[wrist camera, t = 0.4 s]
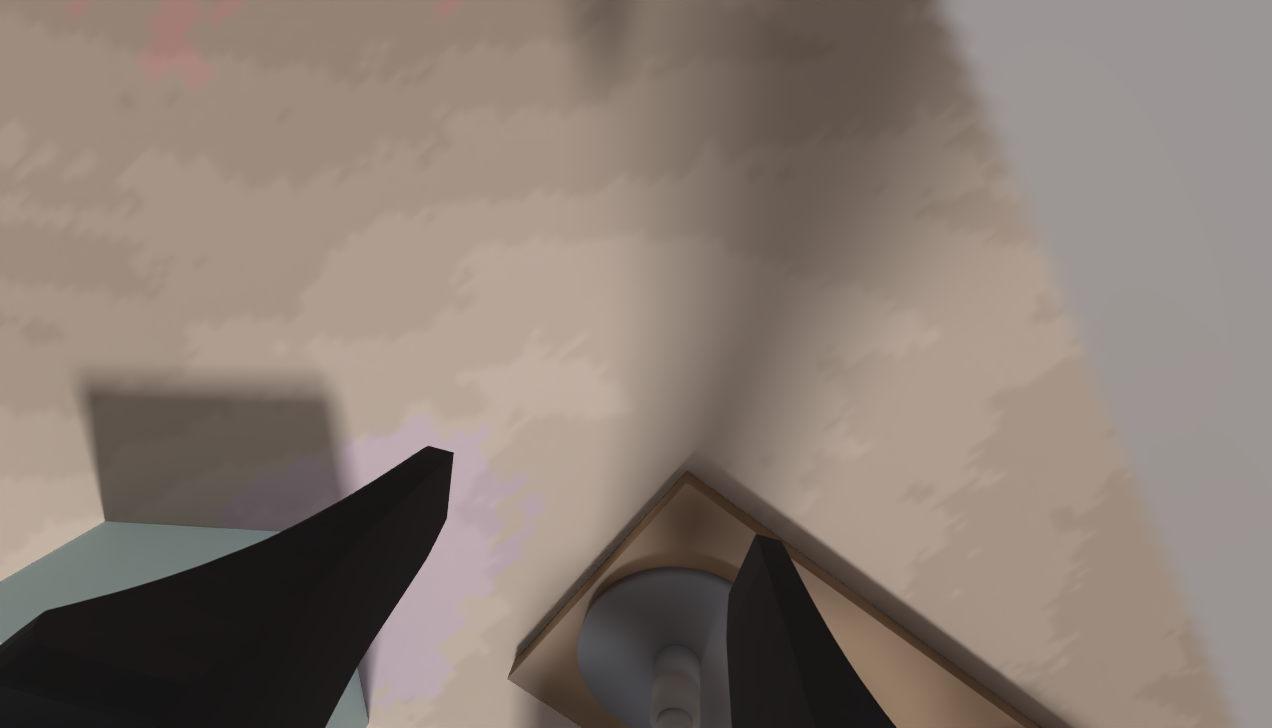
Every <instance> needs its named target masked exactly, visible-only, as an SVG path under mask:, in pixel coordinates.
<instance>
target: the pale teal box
mask: <svg viewBox="0 0 1272 728" xmlns="http://www.w3.org/2000/svg"><path fill="white" fill-rule="evenodd" d="M278 533H280V532H279V531H262V530H245V529H228V528H211V527H194V526H177V525H160V524H143V523H125V522H108V521H105V522H103V523H101V524H100V525H98V526H96V527H94V528H93V529H91V530H89V531H87V532H86V533H84V534H82V535H80V536H79V537H77V538H75V539H74V540H72V541H70V542H68V543H67V544H65V545H63V546H61V547H60V548H58V549H56V550H54V551H53V552H51V553H49V554H48V555H46V556H44V557H42V558H41V559H39V560H37V561H35V562H34V563H32V564H30V565H28V566H27V567H25V568H23V569H22V570H20V571H18V572H16V573H15V574H13V575H11V576H9V577H8V578H6V579H4V580H2V581H1V582H0V645H1V644H2V643H3V642H5V641H6V640H7V639H8V638H10V637H11V636H12V635H13V634H15V633H16V632H17V631H18V630H20V629H21V628H22V627H24V626H25V625H26V624H28V623H29V622H30V621H32V620H33V619H34V618H36V617H37V616H39V615H40V614H41V613H43V612H44V611H45V610H49V609H53V608H57V607H62V606H65V605H69V604H73V603H77V602H81V601H84V600H88V599H92V598H96V597H99V596H103V595H107V594H111V593H115V592H118V591H122V590H125V589H129V588H132V587H135V586H139V585H142V584H145V583H148V582H152V581H155V580H158V579H161V578H164V577H167V576H171V575H173V574H176V573H179V572H182V571H185V570H188V569H191V568H194V567H197V566H200V565H202V564H205V563H208V562H210V561H213V560H215V559H218V558H220V557H223V556H225V555H228V554H230V553H233V552H236V551H238V550H241V549H243V548H246V547H248V546H251V545H253V544H256V543H258V542H260V541H263V540H265V539H267V538H269V537H271V536H273V535H276V534H278ZM368 723H369V722H368V717H367V712H366V707H365V702H364V697H363V692H362V687H361V683H360V678H359V673H358V668H356V670H355V672H354V674H353V676H352V678H351V680H350V681H349V683H348V685H347V687H346V689H345V691H344V693H343V695H342V696H341V698H340V700H339V702H338V704H337V706H336V708H335V710H334V712H333V714H332V716H331V717H330V719H329V721H328V723H327V725H326V727H325V728H366V727H367V725H368Z"/></svg>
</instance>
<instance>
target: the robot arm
mask: <svg viewBox="0 0 1272 728" xmlns="http://www.w3.org/2000/svg"><path fill="white" fill-rule="evenodd" d="M453 454H454V453H453V452H449V451H446V450H442V449H438V448H434V447H431V446H427V447H425V448H423V449H422V450H420V451H419V452H417V453H416V454H414V455H412V456H411V457H409V458H408V459H406V460H405V461H403V462H402V463H400V464H399V465H397V466H396V467H394V468H393V469H391V470H390V471H388V472H387V473H385V474H383V475H382V476H380V477H379V478H377V479H376V480H374V481H372V482H371V483H369V484H367V485H366V486H364V487H363V488H361V489H359V490H358V491H356V492H354V493H353V494H351V495H349V496H348V497H346V498H344V499H343V500H341V501H339V502H337V503H335V504H334V505H332V506H330V507H328V508H326V509H325V510H323V511H321V512H319V513H317V514H315V515H314V516H312V517H310V518H308V519H306V520H304V521H302V522H300V523H298V524H296V525H294V526H292V527H290V528H288V529H286V530H284V531H282V532H280V533H278V534H276V535H273V536H271V537H269V538H267V539H265V540H263V541H260V542H258V543H256V544H253V545H251V546H248V547H246V548H243V549H241V550H238V551H236V552H233V553H230V554H228V555H225V556H223V557H220V558H218V559H215V560H213V561H210V562H208V563H205V564H202V565H200V566H197V567H194V568H191V569H188V570H185V571H182V572H179V573H176V574H173V575H171V576H167V577H164V578H161V579H158V580H155V581H152V582H148V583H145V584H142V585H139V586H135V587H132V588H129V589H125V590H122V591H118V592H115V593H111V594H107V595H103V596H99V597H96V598H92V599H88V600H84V601H81V602H77V603H73V604H69V605H65V606H62V607H57V608H53V609H49V610H45V611H44V612H43V613H41V614H40V615H39V616H37V617H36V618H34V619H33V620H32V621H30V622H29V623H28V624H26V625H25V626H24V627H22V628H21V629H20V630H18V631H17V632H16V633H15V634H13V635H12V636H11V637H10V638H8V639H7V640H6V641H5V642H3V643H2V644H1V645H0V728H325V727H326V725H327V723H328V721H329V719H330V717H331V716H332V714H333V712H334V710H335V708H336V706H337V704H338V702H339V700H340V698H341V696H342V695H343V693H344V691H345V689H346V687H347V685H348V683H349V681H350V680H351V678H352V676H353V674H354V672H355V670H356V668H357V666H358V665H359V663H360V661H361V659H362V658H363V656H364V655H365V653H366V651H367V650H368V648H369V646H370V645H371V643H372V641H373V640H374V638H375V637H376V635H377V634H378V632H379V631H380V629H381V628H382V626H383V625H384V623H385V622H386V620H387V619H388V617H389V616H390V614H391V613H392V611H393V609H394V608H395V606H396V605H397V603H398V602H399V600H400V599H401V597H402V596H403V594H404V593H405V591H406V590H407V588H408V587H409V585H410V584H411V582H412V581H413V579H414V577H415V576H416V574H417V573H418V571H419V570H420V568H421V567H422V565H423V564H424V562H425V560H426V559H427V557H428V555H429V553H430V551H431V549H432V547H433V545H434V543H435V542H436V540H437V537H438V535H439V533H440V531H441V529H442V527H443V525H444V523H445V521H446V519H447V511H448V502H449V492H450V483H451V473H452V464H453ZM726 644H727V662H728V678H729V693H730V708H731V723H732V728H897V727H896V726H895V725H894V724H893V722H892V721H891V720H890V718H889V717H888V716H887V715H886V713H885V712H884V711H883V709H882V708H881V706H880V705H879V704H878V702H877V701H876V700H875V698H874V697H873V695H872V694H871V693H870V691H869V690H868V689H867V687H866V686H865V684H864V683H863V682H862V680H861V679H860V677H859V676H858V674H857V673H856V671H855V670H854V668H853V667H852V665H851V664H850V662H849V661H848V659H847V657H846V656H845V654H844V653H843V651H842V650H841V648H840V646H839V645H838V643H837V642H836V640H835V638H834V637H833V635H832V633H831V632H830V630H829V628H828V626H827V625H826V623H825V621H824V619H823V618H822V616H821V614H820V612H819V611H818V609H817V607H816V605H815V603H814V602H813V600H812V598H811V596H810V594H809V592H808V590H807V588H806V587H805V585H804V583H803V581H802V579H801V577H800V575H799V573H798V571H797V569H796V567H795V565H794V563H793V561H792V560H791V558H790V556H789V554H788V552H787V550H786V548H785V546H784V544H783V542H782V541H781V540H777V539H774V538H770V537H766V536H762V535H759V534H756V535H755V537H754V539H753V541H752V544H751V546H750V548H749V550H748V552H747V555H746V557H745V559H744V561H743V563H742V566H741V568H740V570H739V572H738V574H737V577H736V579H735V581H734V583H733V586H732V588H731V590H730V592H729V596H728V611H727V630H726Z"/></svg>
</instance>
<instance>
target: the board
mask: <svg viewBox="0 0 1272 728" xmlns="http://www.w3.org/2000/svg"><path fill="white" fill-rule="evenodd" d="M756 534H759V535H762V536H766V537H770V538H774V539H777V540H781V541H782V542H783V544H784V546H785V548H786V550H787V552H788V554H789V556H790V558H791V560H792V561H793V563H794V565H795V567H796V569H797V571H798V573H799V575H800V577H801V579H802V581H803V583H804V585H805V587H806V588H807V590H808V592H809V594H810V596H811V598H812V600H813V602H814V603H815V605H816V607H817V609H818V611H819V612H820V614H821V616H822V618H823V619H824V621H825V623H826V625H827V626H828V628H829V630H830V632H831V633H832V635H833V637H834V638H835V640H836V642H837V643H838V645H839V646H840V648H841V650H842V651H843V653H844V654H845V656H846V657H847V659H848V661H849V662H850V664H851V665H852V667H853V668H854V670H855V671H856V673H857V674H858V676H859V677H860V679H861V680H862V682H863V683H864V684H865V686H866V687H867V689H868V690H869V691H870V693H871V694H872V695H873V697H874V698H875V700H876V701H877V702H878V704H879V705H880V706H881V708H882V709H883V711H884V712H885V713H886V715H887V716H888V717H889V718H890V720H891V721H892V722H893V724H894V725H895V726H896V727H897V728H1041V727H1039V726H1038V725H1037V724H1035V723H1034V722H1032V721H1031V720H1030V719H1028V718H1027V717H1026V716H1024V715H1023V714H1021V713H1020V712H1019V711H1017V710H1016V709H1014V708H1013V707H1012V706H1010V705H1009V704H1008V703H1006V702H1005V701H1003V700H1002V699H1001V698H999V697H998V696H997V695H995V694H994V693H992V692H991V691H990V690H988V689H987V688H986V687H984V686H983V685H981V684H980V683H979V682H977V681H976V680H975V679H973V678H972V677H970V676H969V675H968V674H966V673H965V672H964V671H962V670H961V669H959V668H958V667H957V666H955V665H954V664H952V663H951V662H950V661H948V660H947V659H946V658H944V657H943V656H941V655H940V654H939V653H937V652H936V651H935V650H933V649H932V648H930V647H929V646H928V645H926V644H925V643H924V642H922V641H921V640H919V639H918V638H917V637H915V636H914V635H913V634H911V633H910V632H908V631H907V630H906V629H904V628H903V627H902V626H900V625H899V624H897V623H896V622H895V621H893V620H892V619H890V618H889V617H888V616H886V615H885V614H884V613H882V612H881V611H879V610H878V609H877V608H875V607H874V606H873V605H871V604H870V603H868V602H867V601H866V600H864V599H863V598H862V597H860V596H859V595H857V594H856V593H855V592H853V591H852V590H851V589H849V588H848V587H846V586H845V585H844V584H842V583H841V582H840V581H838V580H837V579H835V578H834V577H833V576H831V575H830V574H828V573H827V572H826V571H824V570H823V569H822V568H820V567H819V566H817V565H816V564H815V563H813V562H812V561H811V560H809V559H808V558H806V557H805V556H804V555H802V554H801V553H800V552H798V551H797V550H795V549H794V548H793V547H791V546H790V545H789V544H787V543H786V542H784V541H783V540H782V539H780V538H779V537H778V536H776V535H775V534H773V533H772V532H771V531H769V530H768V529H766V528H765V527H764V526H762V525H761V524H760V523H758V522H757V521H755V520H754V519H753V518H751V517H750V516H749V515H747V514H746V513H744V512H743V511H742V510H740V509H739V508H738V507H736V506H735V505H733V504H732V503H731V502H729V501H728V500H727V499H725V498H724V497H722V496H721V495H720V494H718V493H717V492H715V491H714V490H713V489H711V488H710V487H709V486H707V485H706V484H704V483H703V482H702V481H700V480H699V479H698V478H696V477H695V476H693V475H692V474H691V473H689V472H688V471H687V472H686V473H685V474H684V475H683V476H682V477H681V478H680V479H679V480H678V482H677V483H676V484H675V485H674V486H673V487H672V488H671V489H670V490H669V491H668V493H667V494H666V495H665V496H664V497H663V498H662V499H661V500H660V501H659V502H658V504H657V505H656V506H655V507H654V508H653V509H652V510H651V511H650V512H649V514H648V515H647V516H646V517H645V518H644V519H643V520H642V521H641V522H640V523H639V525H638V526H637V527H636V528H635V529H634V530H633V531H632V532H631V533H630V534H629V536H628V537H627V538H626V539H625V540H624V541H623V542H622V543H621V544H620V546H619V547H618V548H617V549H616V550H615V551H614V552H613V553H612V554H611V555H610V557H609V558H608V559H607V560H606V561H605V562H604V563H603V564H602V565H601V566H600V568H599V569H598V570H597V571H596V572H595V573H594V574H593V575H592V576H591V578H590V579H589V580H588V581H587V582H586V583H585V584H584V585H583V586H582V587H581V589H580V590H579V591H578V592H577V593H576V594H575V595H574V596H573V597H572V598H571V600H570V601H569V602H568V603H567V604H566V605H565V606H564V607H563V608H562V609H561V611H560V612H559V613H558V614H557V615H556V616H555V617H554V618H553V619H552V621H551V622H550V623H549V624H548V625H547V626H546V627H545V628H544V629H543V630H542V632H541V633H540V634H539V635H538V636H537V637H536V638H535V639H534V640H533V641H532V643H531V644H530V645H529V646H528V647H527V648H526V649H525V650H524V651H523V653H522V654H521V655H520V656H519V657H518V658H517V659H516V660H515V661H514V663H513V665H512V668H511V671H510V673H509V676H508V680H510V681H512V682H513V683H515V684H516V685H518V686H519V687H521V688H522V689H524V690H525V691H527V692H529V693H530V694H532V695H533V696H535V697H536V698H538V699H539V700H541V701H542V702H544V703H546V704H547V705H549V706H550V707H552V708H553V709H555V710H556V711H558V712H559V713H561V714H562V715H564V716H566V717H567V718H569V719H570V720H572V721H573V722H575V723H576V724H578V725H579V726H581V727H583V728H732V723H731V708H730V693H729V678H728V662H727V644H726V630H727V611H728V596H729V592H730V590H731V588H732V586H733V583H734V581H735V579H736V577H737V574H738V572H739V570H740V568H741V566H742V563H743V561H744V559H745V557H746V555H747V552H748V550H749V548H750V546H751V544H752V541H753V539H754V537H755V535H756Z"/></svg>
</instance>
